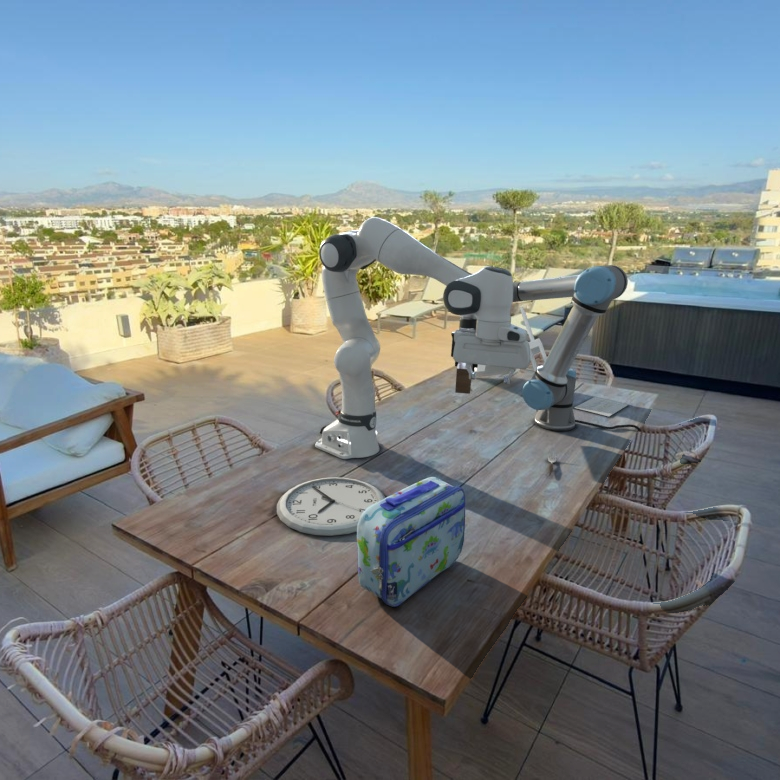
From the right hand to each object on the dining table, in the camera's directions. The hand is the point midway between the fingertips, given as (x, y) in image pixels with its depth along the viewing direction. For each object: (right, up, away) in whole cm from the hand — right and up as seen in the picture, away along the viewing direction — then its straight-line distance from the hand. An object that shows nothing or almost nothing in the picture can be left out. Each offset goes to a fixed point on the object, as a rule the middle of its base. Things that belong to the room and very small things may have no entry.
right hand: (465, 374), depth 212 cm
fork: (+21, -31, -44) cm, 58 cm away
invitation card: (+61, -14, +14) cm, 64 cm away
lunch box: (-26, -47, -98) cm, 112 cm away
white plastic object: (+27, -3, +45) cm, 53 cm away
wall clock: (-46, -38, -69) cm, 91 cm away
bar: (-2, -3, -9) cm, 10 cm away
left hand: (-4, -4, -70) cm, 71 cm away
